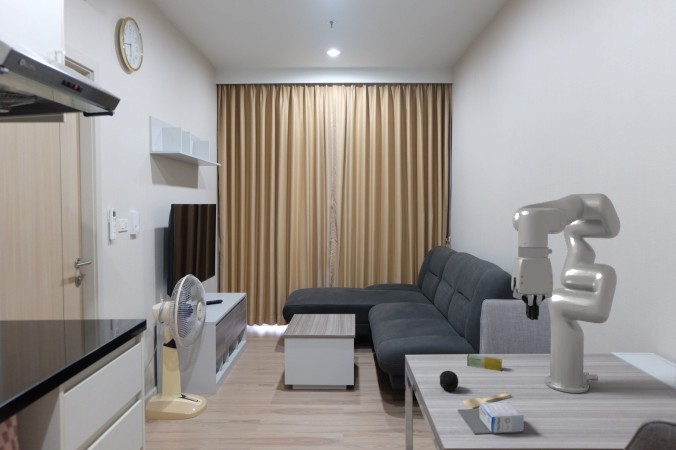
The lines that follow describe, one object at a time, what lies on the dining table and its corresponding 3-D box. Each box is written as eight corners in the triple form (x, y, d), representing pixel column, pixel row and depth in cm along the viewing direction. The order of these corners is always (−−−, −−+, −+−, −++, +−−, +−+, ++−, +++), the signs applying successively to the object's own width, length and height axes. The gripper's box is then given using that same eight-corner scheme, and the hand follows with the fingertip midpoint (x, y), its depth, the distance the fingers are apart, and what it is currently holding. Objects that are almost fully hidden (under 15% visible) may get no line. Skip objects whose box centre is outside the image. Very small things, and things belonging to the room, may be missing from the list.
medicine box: (509, 417, 120) (479, 418, 119) (509, 401, 120) (478, 402, 119) (524, 431, 112) (491, 433, 111) (523, 414, 112) (491, 416, 111)
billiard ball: (459, 394, 136) (459, 375, 136) (439, 393, 137) (439, 374, 137) (457, 386, 142) (457, 368, 141) (438, 385, 143) (438, 367, 143)
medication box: (466, 366, 160) (466, 355, 160) (468, 364, 162) (468, 353, 162) (501, 372, 154) (501, 361, 154) (502, 369, 157) (502, 358, 157)
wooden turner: (503, 393, 136) (503, 391, 136) (514, 399, 132) (514, 396, 132) (462, 403, 130) (462, 400, 130) (472, 409, 126) (472, 406, 126)
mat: (498, 409, 125) (498, 408, 125) (520, 432, 112) (520, 431, 112) (457, 410, 125) (457, 409, 125) (474, 434, 112) (474, 432, 112)
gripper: (551, 251, 125) (550, 314, 126) (500, 252, 124) (500, 316, 125) (566, 254, 117) (566, 321, 118) (512, 255, 116) (512, 323, 117)
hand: (532, 318), depth 121 cm, fingers closed
